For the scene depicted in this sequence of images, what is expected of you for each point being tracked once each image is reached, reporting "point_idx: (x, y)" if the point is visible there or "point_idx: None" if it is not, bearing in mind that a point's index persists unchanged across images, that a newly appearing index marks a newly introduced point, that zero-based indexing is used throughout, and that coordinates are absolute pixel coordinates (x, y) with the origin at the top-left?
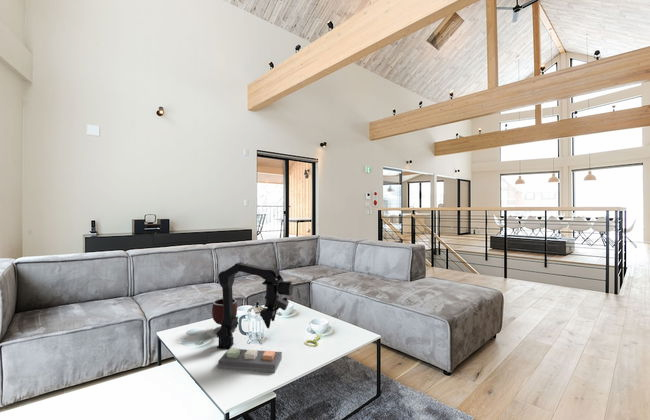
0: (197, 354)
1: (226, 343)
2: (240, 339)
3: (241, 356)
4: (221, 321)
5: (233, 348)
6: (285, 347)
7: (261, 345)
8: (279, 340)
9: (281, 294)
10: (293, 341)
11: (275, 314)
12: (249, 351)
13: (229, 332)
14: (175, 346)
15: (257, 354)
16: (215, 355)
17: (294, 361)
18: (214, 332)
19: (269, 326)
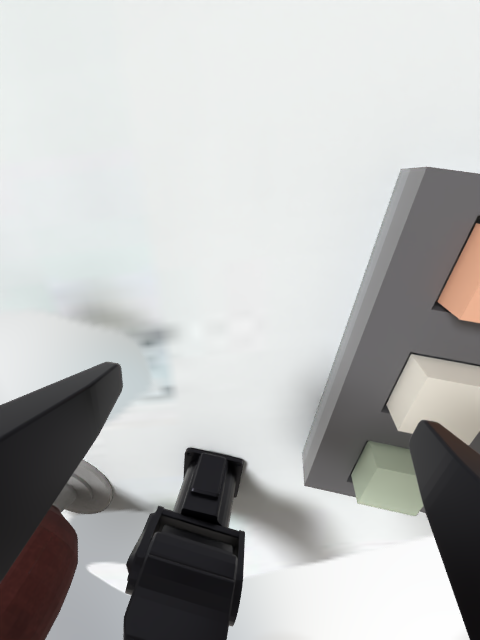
0: (282, 534)
1: (230, 489)
2: (136, 426)
3: None
4: (73, 557)
5: (365, 493)
6: (201, 160)
7: (187, 330)
8: (99, 224)
9: None
10: (87, 96)
11: (3, 436)
12: (438, 422)
13: (231, 553)
14: None
15: (413, 357)
16: (295, 492)
17: (475, 23)
18: (103, 509)
19: (468, 446)
